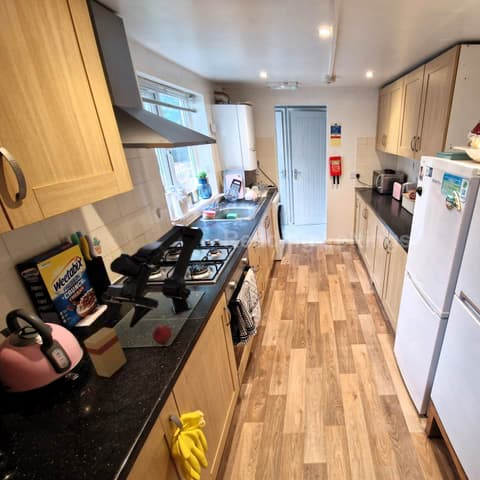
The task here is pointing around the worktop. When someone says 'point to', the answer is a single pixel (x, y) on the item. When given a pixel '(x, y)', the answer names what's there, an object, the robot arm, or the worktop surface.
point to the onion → (161, 334)
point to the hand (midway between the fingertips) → (119, 325)
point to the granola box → (105, 351)
